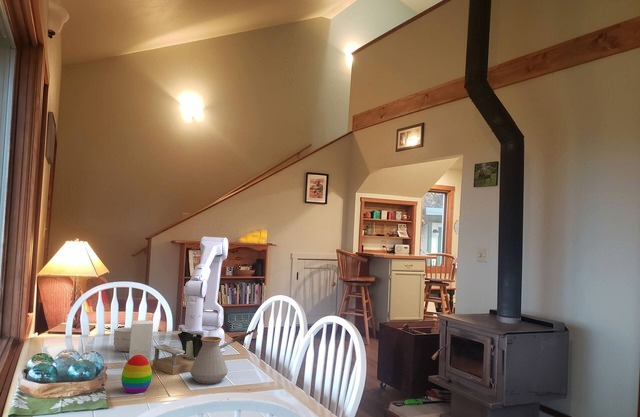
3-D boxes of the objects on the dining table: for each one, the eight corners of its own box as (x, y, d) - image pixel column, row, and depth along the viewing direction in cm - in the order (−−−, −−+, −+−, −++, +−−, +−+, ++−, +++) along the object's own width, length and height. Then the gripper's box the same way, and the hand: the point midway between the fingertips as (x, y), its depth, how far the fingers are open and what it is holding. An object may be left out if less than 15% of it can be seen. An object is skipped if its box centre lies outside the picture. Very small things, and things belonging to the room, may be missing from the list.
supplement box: (150, 359, 172) (153, 323, 173) (128, 360, 170) (131, 323, 170) (150, 354, 179) (153, 319, 180) (129, 355, 177) (131, 320, 177)
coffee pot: (195, 387, 144) (199, 336, 145) (185, 377, 154) (188, 329, 155) (262, 380, 155) (264, 332, 156) (248, 370, 165) (250, 325, 166)
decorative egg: (115, 394, 135) (118, 357, 136) (127, 385, 143) (129, 350, 144) (145, 395, 135) (147, 359, 136) (154, 386, 143) (157, 352, 144)
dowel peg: (191, 363, 170) (193, 340, 170) (197, 365, 167) (198, 342, 168) (183, 365, 167) (184, 341, 167) (189, 367, 165) (190, 343, 165)
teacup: (106, 351, 181) (107, 329, 181) (127, 345, 191) (129, 324, 191) (135, 356, 176) (136, 333, 176) (156, 350, 186) (157, 329, 186)
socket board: (197, 358, 177) (198, 339, 177) (218, 365, 169) (219, 345, 169) (152, 367, 163) (153, 346, 163) (172, 375, 155) (174, 352, 155)
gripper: (171, 313, 170) (169, 352, 169) (196, 319, 161) (194, 361, 160) (189, 311, 175) (186, 350, 175) (214, 317, 166) (211, 358, 165)
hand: (191, 355), depth 168 cm, fingers open, 5 cm apart
